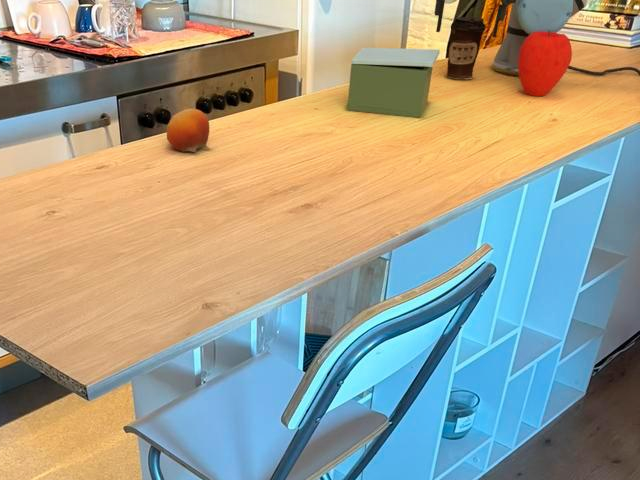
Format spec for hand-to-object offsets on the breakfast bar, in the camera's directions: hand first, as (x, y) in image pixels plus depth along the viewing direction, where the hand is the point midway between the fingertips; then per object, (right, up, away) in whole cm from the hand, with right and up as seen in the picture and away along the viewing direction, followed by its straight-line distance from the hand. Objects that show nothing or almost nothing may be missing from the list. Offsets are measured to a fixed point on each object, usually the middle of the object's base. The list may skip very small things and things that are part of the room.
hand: (466, 34), depth 198 cm
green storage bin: (-22, -26, -17) cm, 39 cm away
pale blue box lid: (-21, -19, -24) cm, 37 cm away
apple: (+16, -17, -5) cm, 24 cm away
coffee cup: (0, -8, +6) cm, 10 cm away
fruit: (-64, -49, -46) cm, 93 cm away
